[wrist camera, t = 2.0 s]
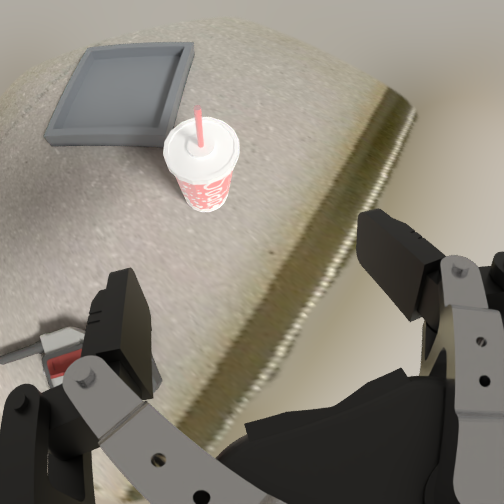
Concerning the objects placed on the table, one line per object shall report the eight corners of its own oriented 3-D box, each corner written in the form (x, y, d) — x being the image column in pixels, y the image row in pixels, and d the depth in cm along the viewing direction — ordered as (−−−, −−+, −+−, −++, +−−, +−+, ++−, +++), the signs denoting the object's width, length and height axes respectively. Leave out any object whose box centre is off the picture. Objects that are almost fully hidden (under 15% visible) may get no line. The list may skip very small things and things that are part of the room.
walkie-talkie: (145, 300, 30) (3, 351, 27) (133, 296, 26) (-20, 352, 22) (177, 383, 28) (28, 422, 25) (169, 392, 24) (7, 431, 21)
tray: (51, 146, 32) (43, 136, 30) (92, 58, 36) (87, 47, 33) (168, 147, 33) (165, 135, 31) (194, 55, 37) (193, 42, 34)
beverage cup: (182, 225, 31) (155, 155, 18) (173, 172, 33) (148, 85, 19) (241, 212, 32) (254, 136, 19) (228, 161, 33) (233, 70, 20)
